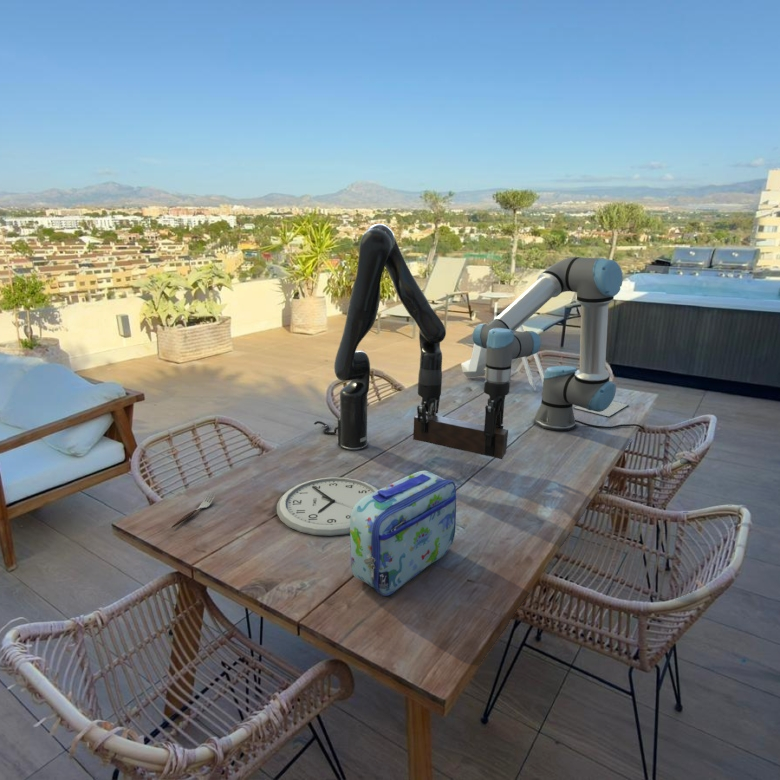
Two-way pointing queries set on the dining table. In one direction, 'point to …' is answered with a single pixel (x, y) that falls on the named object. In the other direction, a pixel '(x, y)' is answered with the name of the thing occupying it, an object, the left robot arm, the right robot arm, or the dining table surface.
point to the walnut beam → (460, 435)
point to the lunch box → (402, 530)
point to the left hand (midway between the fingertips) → (427, 429)
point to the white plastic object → (478, 364)
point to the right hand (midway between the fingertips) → (491, 451)
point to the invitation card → (607, 409)
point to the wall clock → (322, 505)
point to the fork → (203, 505)
